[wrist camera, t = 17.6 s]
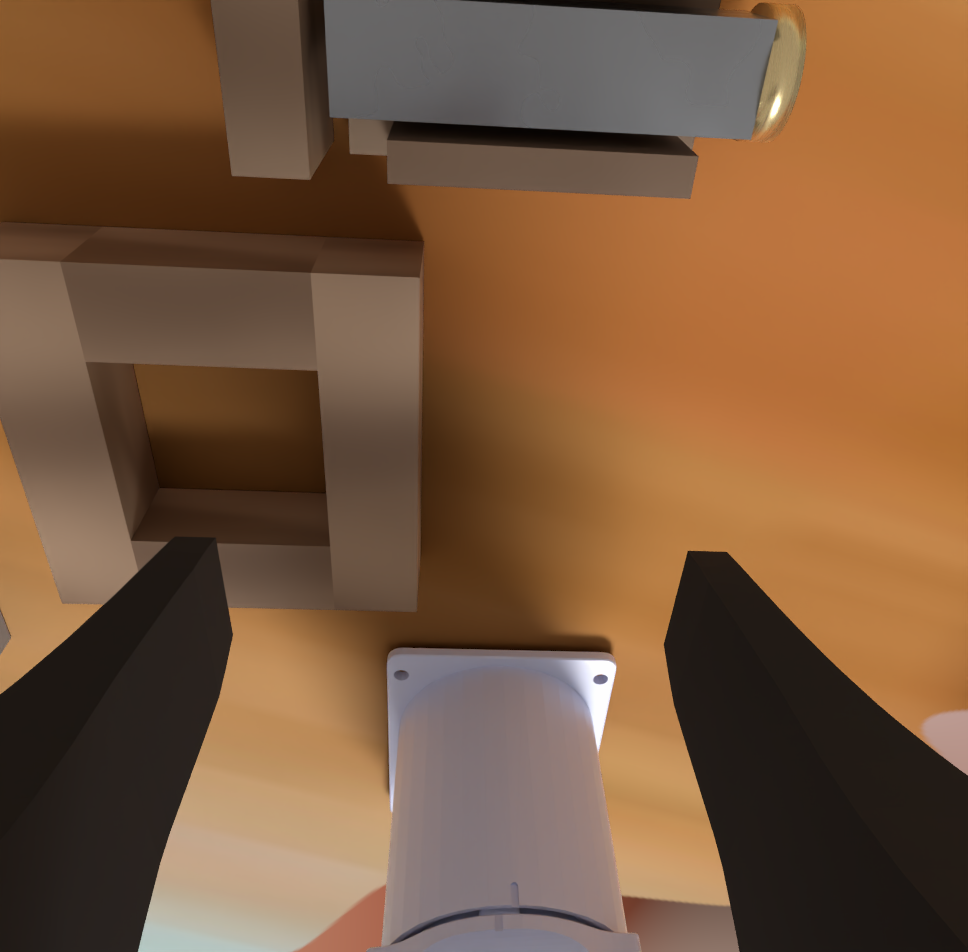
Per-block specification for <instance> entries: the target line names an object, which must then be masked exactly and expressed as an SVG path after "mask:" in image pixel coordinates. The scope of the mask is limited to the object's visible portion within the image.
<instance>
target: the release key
mask: <svg viewBox="0 0 968 952" xmlns="http://www.w3.org/2000/svg"><path fill="white" fill-rule="evenodd" d="M324 15H325V35H326V54H327V73H328V93H329V112H330V117H333V118H352V119H371V120H389V121H408V122H427V123H445V124H464V125H483V126H501V127H520V128H539V129H557V130H576V131H595V132H614V133H632V134H651V135H670V136H688V137H707V138H726V139H734V140H736V141H750V142H771V141H772V140H774V139H775V138H776V137H777V136H778V135H779V134H780V132H781V131H782V129H783V128H784V126H785V124H786V122H787V120H788V118H789V116H790V114H791V112H792V109H793V106H794V104H795V100H796V97H797V94H798V91H799V87H800V83H801V78H802V74H803V68H804V61H805V53H806V25H805V19H804V15H803V12H802V10H801V9H800V7H799V6H797V5H794V4H778V3H759V4H757V5H756V6H755V7H754V8H753V9H752V11H751V12H749V11H745V10H728V9H712V8H696V7H679V6H663V5H647V4H631V3H614V2H598V1H582V0H324Z"/></svg>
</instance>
